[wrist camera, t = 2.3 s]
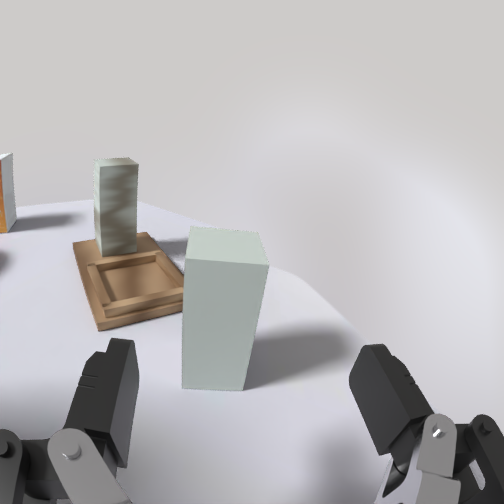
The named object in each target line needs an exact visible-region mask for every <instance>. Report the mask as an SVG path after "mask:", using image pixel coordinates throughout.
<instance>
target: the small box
mask: <svg viewBox="0 0 504 504" xmlns="http://www.w3.org/2000/svg"><path fill="white" fill-rule="evenodd" d="M12 160H13V153H8V154H0V233H8V231H9V230H10V229H11V227H12V226H13V224H14V223H15V221H16V220H17V217H16V207H15V197H14V183H13V161H12Z"/></svg>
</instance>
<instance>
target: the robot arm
mask: <svg viewBox="0 0 504 504" xmlns="http://www.w3.org/2000/svg"><path fill="white" fill-rule="evenodd" d="M349 386H350V389H351V391H352V394H353V396H354V398H355V400H356V403H357V405H358V407H359V410H360V412H361V414H362V416H363V419H364V421H365V423H366V426H367V428H368V430H369V433H370V435H371V438H372V440H373V442H374V445H375V447H376V449H377V452H378V454H379V456H380V455H384V454H388V453H391V455H392V458H391V459H390V460H389V463H388V466H387V469H386V472H385V475H384V478H383V481H382V484H381V486H380V489H379V492H378V495H377V497H376V500H375V502H374V503H373V504H504V436H503V434H502V433H501V431H500V429H499V427H498V426H497V424H496V423H495V421H494V420H493V419H492V418H491V417H489V416H487V415H483V414H481V415H477V416H476V417H475V418H474V419H473V420H472V422H470V424H454V423H453V421H452V420H451V419H450V418H448V417H447V416H445V415H442V414H435V413H434V412H433V410H432V409H431V407H430V405H429V404H428V402H427V400H426V399H425V397H424V395H423V394H422V392H421V390H420V389H419V387H418V385H416V384H415V381H414V379H413V377H412V376H410V373H409V371H408V370H407V368H406V366H405V365H404V364H403V363H402V362H401V361H400V360H399V359H397V358H396V357H395V356H392V355H391V353H390V352H389V350H388V349H387V347H386V346H385V345H384V344H373V345H365V346H363V347H362V349H361V351H360V353H359V355H358V357H357V360H356V362H355V364H354V366H353V368H352V370H351V372H350V375H349ZM138 388H139V369H138V363H137V356H136V350H135V343H134V341H133V340H126V339H118V338H111V340H110V342H109V345H108V348H107V351H106V353H105V352H98V351H96V352H95V353H94V354H93V355H92V356H91V357H90V358H89V359H88V360H87V361H86V364H85V366H84V369H83V372H82V376H81V377H80V380H79V383H78V387H77V389H76V392H75V395H74V398H73V401H72V404H71V407H70V410H69V413H68V417H67V420H66V423H65V425H64V427H63V429H62V430H60V431H58V432H56V433H55V434H54V435H53V436H52V437H51V438H49V439H43V440H20V439H19V438H18V437H17V436H16V435H15V434H14V433H13V432H11V431H9V430H6V429H0V504H56V501H57V499H70V500H71V502H72V504H133V503H132V502H131V501H130V499H129V498H128V497H127V495H126V494H125V492H124V491H123V490H122V488H121V487H120V485H119V484H118V482H117V481H116V471H117V467H122V468H127V460H128V452H129V445H130V437H131V431H132V424H133V417H134V411H135V405H136V399H137V394H138ZM475 459H476V461H477V463H478V465H479V467H480V469H481V471H482V474H483V476H484V478H485V482H486V483H485V487H484V489H483V490H480V489H479V487H478V484H477V482H476V480H475V478H474V475H473V473H472V471H471V469H470V467H469V464H470V463H472V462H473V461H474V460H475Z"/></svg>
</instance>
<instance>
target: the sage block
mask: <svg viewBox="0 0 504 504" xmlns="http://www.w3.org/2000/svg"><path fill="white" fill-rule="evenodd" d="M268 269H269V263H268V260H267V257H266V254H265V251H264V248H263V245H262V242H261V239H260V236H259V233H258V232H249V231H238V230H228V229H217V228H206V227H195V226H190V232H189V238H188V244H187V249H186V255H185V268H184V289H183V318H182V388H184V389H199V390H221V391H243V387H244V383H245V378H246V374H247V369H248V365H249V360H250V355H251V351H252V346H253V341H254V337H255V332H256V327H257V323H258V318H259V313H260V308H261V303H262V299H263V294H264V289H265V284H266V279H267V274H268Z"/></svg>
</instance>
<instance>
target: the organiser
mask: <svg viewBox="0 0 504 504" xmlns="http://www.w3.org/2000/svg"><path fill="white" fill-rule="evenodd" d="M137 181H138V164H137V163H136V162H134V161H133V160H131V159H130V158H113V159H99V160H94V221H95V239H94V240H87V241H81V242H74V243H73V250H74V254H75V258H76V261H77V265H78V269H79V272H80V276H81V279H82V283H83V286H84V289H85V293H86V296H87V299H88V302H89V305H90V308H91V311H92V314H93V317H94V320H95V323H96V326H97V328H98V331H102V330H106V329H111V328H115V327H119V326H123V325H127V324H132V323H136V322H140V321H144V320H148V319H152V318H156V317H160V316H164V315H168V314H172V313H176V312H180V311H183V289H184V275H183V274H182V273H181V272H180V271H179V269H178V268H177V267H176V266H175V265H174V264H173V262H172V261H171V260H170V259H169V258H168V257H167V256H166V254H165V253H164V252H163V251H162V250H161V249H160V247H159V246H158V245H157V244H156V243H155V241H154V240H153V239H152V238H151V237H150V235H149V234H148V233H147V232H142V233H137V185H138V182H137Z"/></svg>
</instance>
